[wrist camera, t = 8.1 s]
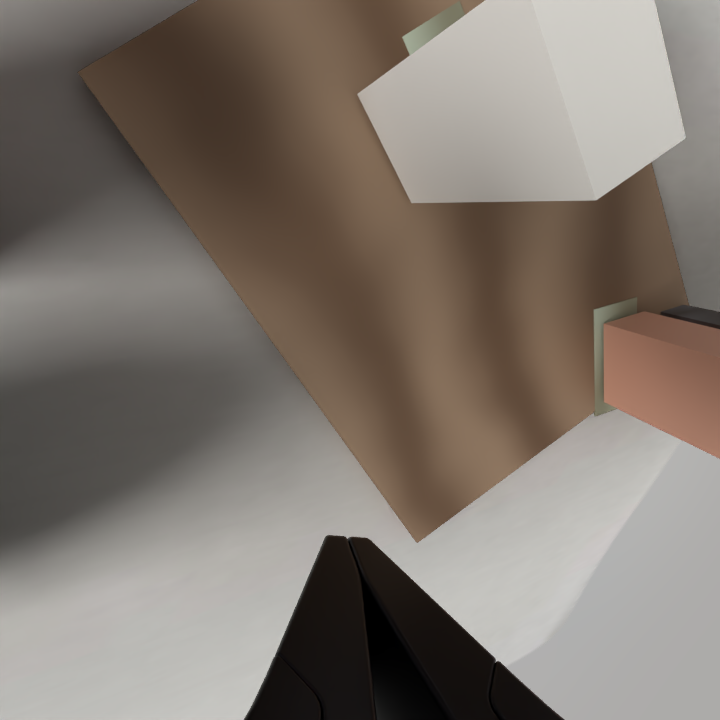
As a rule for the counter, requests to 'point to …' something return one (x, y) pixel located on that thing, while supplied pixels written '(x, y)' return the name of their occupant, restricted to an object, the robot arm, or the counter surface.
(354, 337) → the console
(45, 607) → the counter surface
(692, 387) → the salmon pink rectangular block
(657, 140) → the white rectangular block
